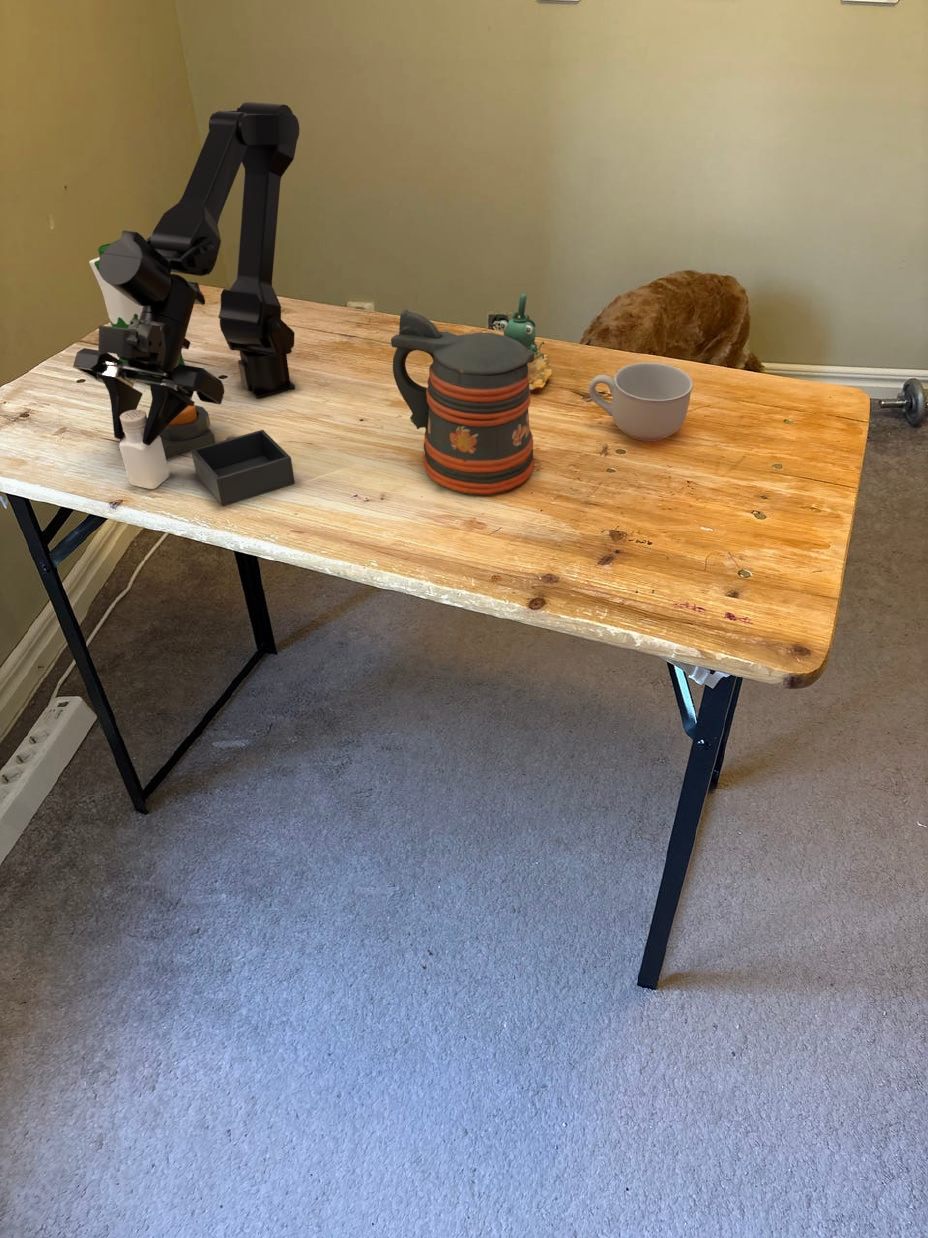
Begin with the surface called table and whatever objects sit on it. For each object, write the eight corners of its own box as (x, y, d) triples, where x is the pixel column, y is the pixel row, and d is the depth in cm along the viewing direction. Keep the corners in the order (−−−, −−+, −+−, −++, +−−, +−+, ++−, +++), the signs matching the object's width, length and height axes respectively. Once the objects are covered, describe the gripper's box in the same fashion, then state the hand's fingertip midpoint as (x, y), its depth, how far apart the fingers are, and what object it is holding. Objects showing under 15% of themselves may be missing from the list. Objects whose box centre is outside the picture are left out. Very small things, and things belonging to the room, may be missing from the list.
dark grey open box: (267, 455, 124) (262, 429, 121) (295, 484, 118) (291, 457, 115) (196, 476, 120) (190, 449, 117) (222, 507, 114) (216, 479, 111)
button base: (200, 421, 132) (195, 398, 130) (220, 443, 127) (215, 420, 124) (120, 442, 127) (114, 419, 125) (138, 466, 122) (131, 443, 120)
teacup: (693, 422, 130) (702, 369, 125) (673, 456, 123) (682, 401, 118) (600, 404, 135) (605, 352, 130) (576, 436, 127) (580, 383, 122)
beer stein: (377, 483, 118) (365, 334, 105) (412, 431, 129) (406, 290, 116) (519, 504, 114) (524, 351, 101) (543, 448, 125) (551, 304, 112)
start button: (190, 408, 128) (188, 396, 127) (201, 420, 125) (199, 408, 124) (160, 416, 126) (157, 404, 125) (170, 428, 123) (167, 417, 122)
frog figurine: (577, 367, 145) (580, 277, 135) (516, 421, 135) (514, 329, 125) (527, 352, 149) (526, 264, 139) (464, 404, 139) (457, 313, 129)
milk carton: (113, 376, 144) (78, 246, 131) (156, 356, 150) (127, 230, 137) (152, 389, 140) (120, 256, 127) (195, 368, 146) (168, 239, 133)
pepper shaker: (128, 486, 118) (109, 419, 112) (146, 471, 121) (129, 405, 115) (154, 491, 117) (136, 424, 111) (172, 476, 120) (156, 410, 113)
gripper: (60, 283, 109) (25, 408, 108) (192, 303, 104) (156, 433, 103) (117, 323, 120) (86, 436, 119) (240, 342, 115) (208, 461, 114)
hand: (131, 441), depth 113 cm, fingers closed on pepper shaker, 4 cm apart
